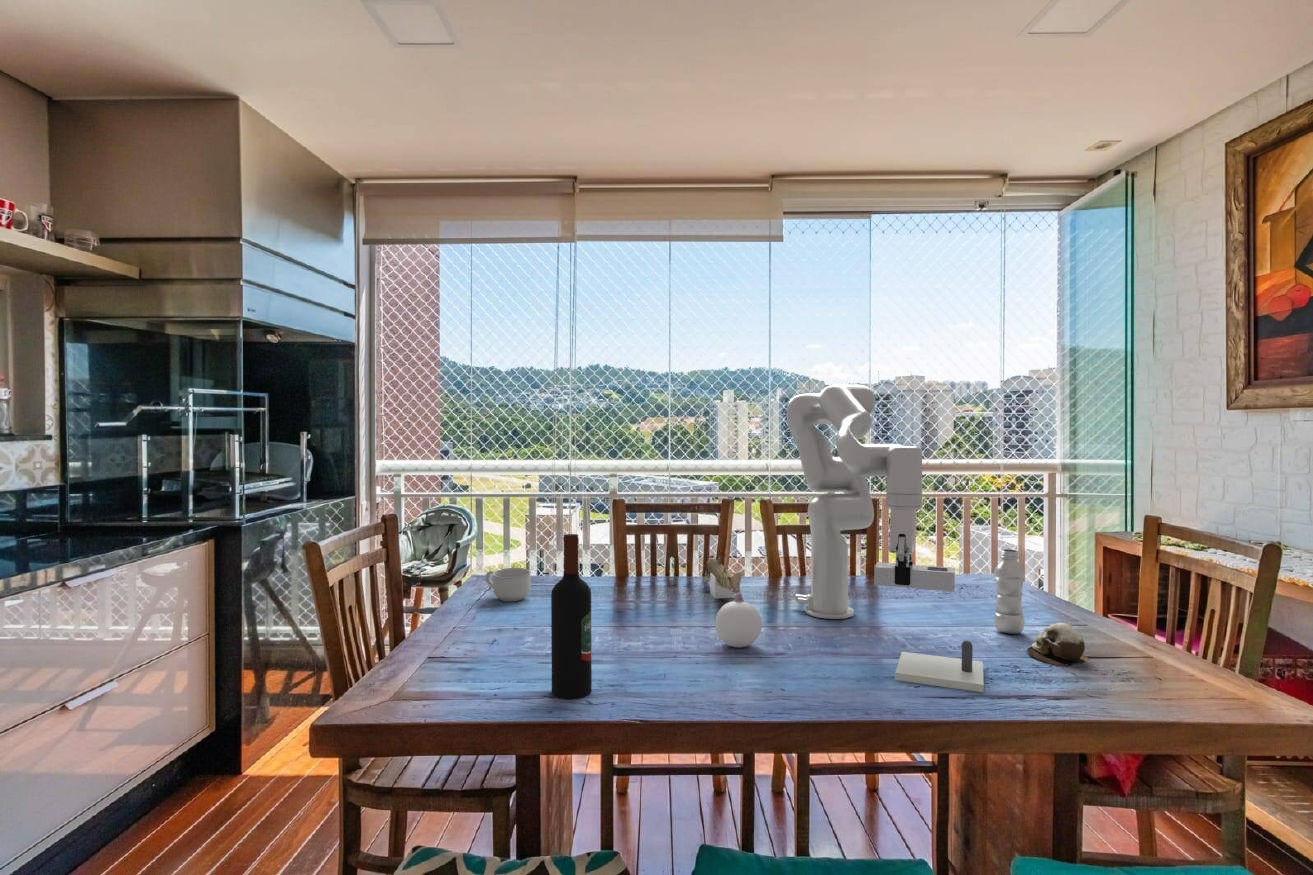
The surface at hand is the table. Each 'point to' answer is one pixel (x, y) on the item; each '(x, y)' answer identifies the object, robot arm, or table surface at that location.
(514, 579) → the teacup
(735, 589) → the wood carving
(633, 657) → the table surface
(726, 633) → the ornament
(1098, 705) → the table surface
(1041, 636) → the skull
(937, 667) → the board
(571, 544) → the wine bottle
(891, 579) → the link plate
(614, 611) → the table surface
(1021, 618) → the plastic bottle
